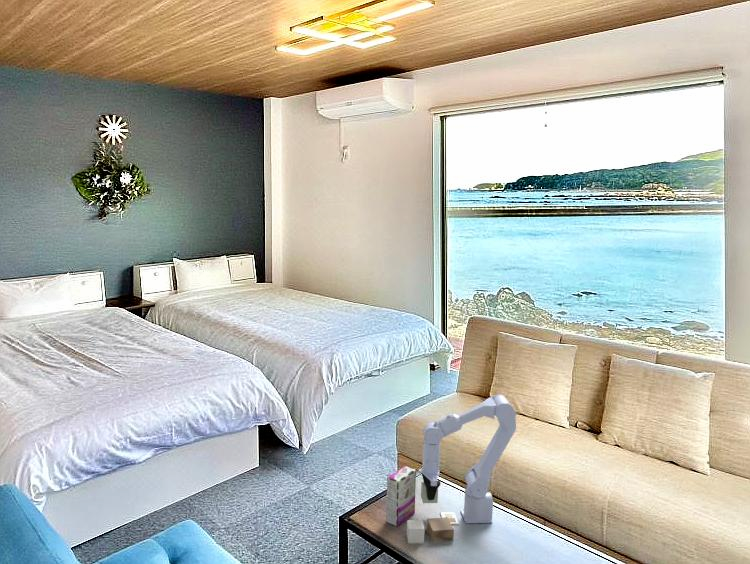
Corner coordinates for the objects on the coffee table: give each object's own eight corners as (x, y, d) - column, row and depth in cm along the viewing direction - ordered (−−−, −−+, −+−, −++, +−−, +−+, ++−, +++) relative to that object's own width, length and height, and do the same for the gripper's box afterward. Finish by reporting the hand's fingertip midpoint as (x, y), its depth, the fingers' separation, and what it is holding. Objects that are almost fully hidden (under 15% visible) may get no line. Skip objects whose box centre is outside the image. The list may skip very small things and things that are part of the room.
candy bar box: (403, 508, 197) (405, 465, 194) (415, 513, 194) (417, 469, 191) (384, 522, 188) (386, 476, 186) (396, 527, 185) (398, 481, 183)
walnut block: (446, 528, 186) (447, 517, 185) (453, 540, 179) (453, 529, 178) (426, 529, 185) (427, 518, 184) (432, 542, 178) (432, 530, 177)
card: (454, 513, 195) (454, 511, 194) (458, 524, 188) (458, 523, 188) (440, 513, 194) (440, 512, 194) (444, 524, 187) (444, 523, 187)
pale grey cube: (421, 534, 182) (422, 520, 181) (423, 543, 177) (424, 528, 176) (406, 534, 181) (407, 520, 181) (408, 543, 176) (409, 529, 176)
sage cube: (434, 495, 194) (435, 482, 193) (437, 503, 189) (438, 489, 189) (420, 495, 194) (421, 482, 193) (423, 503, 189) (423, 489, 188)
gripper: (416, 448, 196) (414, 484, 198) (422, 468, 182) (421, 506, 184) (436, 448, 197) (434, 484, 199) (443, 468, 183) (442, 506, 184)
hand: (429, 495), depth 191 cm, fingers closed on sage cube, 5 cm apart
